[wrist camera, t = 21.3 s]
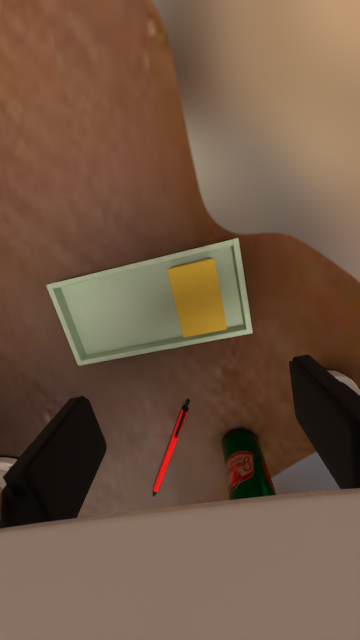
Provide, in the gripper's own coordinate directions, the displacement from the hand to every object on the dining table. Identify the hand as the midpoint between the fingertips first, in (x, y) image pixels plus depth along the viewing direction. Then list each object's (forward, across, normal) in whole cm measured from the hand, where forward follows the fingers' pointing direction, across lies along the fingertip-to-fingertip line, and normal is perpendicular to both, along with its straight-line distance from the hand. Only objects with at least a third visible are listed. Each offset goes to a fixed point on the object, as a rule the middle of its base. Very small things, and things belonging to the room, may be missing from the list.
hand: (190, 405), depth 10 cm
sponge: (+16, -1, -2) cm, 17 cm away
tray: (+17, +4, -2) cm, 18 cm away
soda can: (+18, -3, +20) cm, 27 cm away
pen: (+18, +8, +20) cm, 28 cm away
